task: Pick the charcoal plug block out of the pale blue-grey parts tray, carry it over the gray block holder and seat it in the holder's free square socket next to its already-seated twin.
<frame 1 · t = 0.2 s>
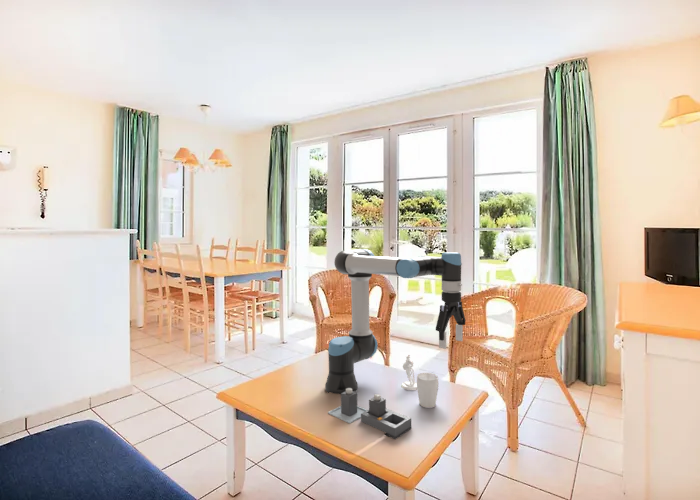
hand: (451, 344, 150), 28 cm above the table, fingers open, 13 cm apart
tray: (349, 415, 149), on the table
cup: (427, 405, 158), on the table
plug: (349, 412, 149), point 1 cm above the table, touching tray
gray block holder: (385, 426, 140), on the table
figurine: (410, 386, 177), on the table
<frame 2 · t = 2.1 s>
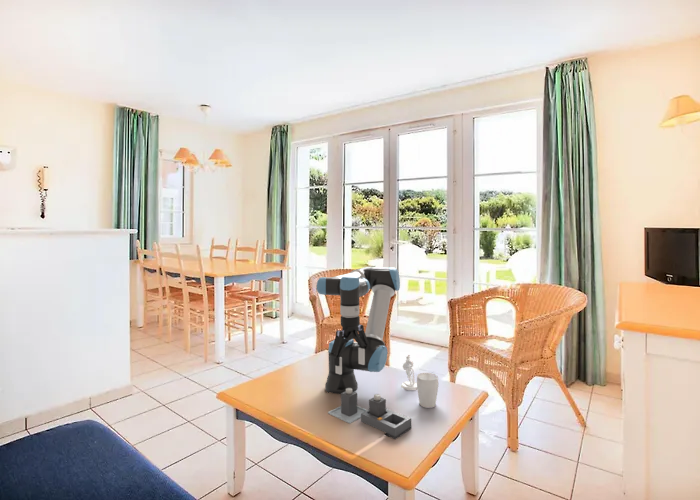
hand: (350, 368, 149), 19 cm above the table, fingers open, 13 cm apart
nothing on the table moved.
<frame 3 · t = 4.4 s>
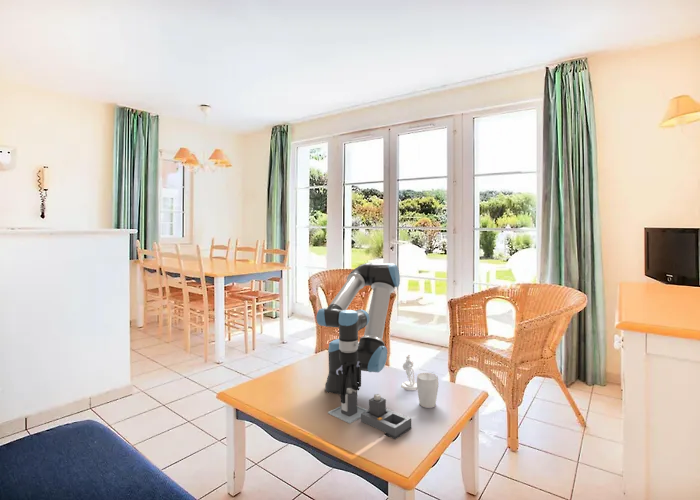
hand: (349, 407, 149), 3 cm above the table, fingers closed on plug, 4 cm apart
plug: (349, 412, 149), point 1 cm above the table, touching gripper, tray
everything else where it was.
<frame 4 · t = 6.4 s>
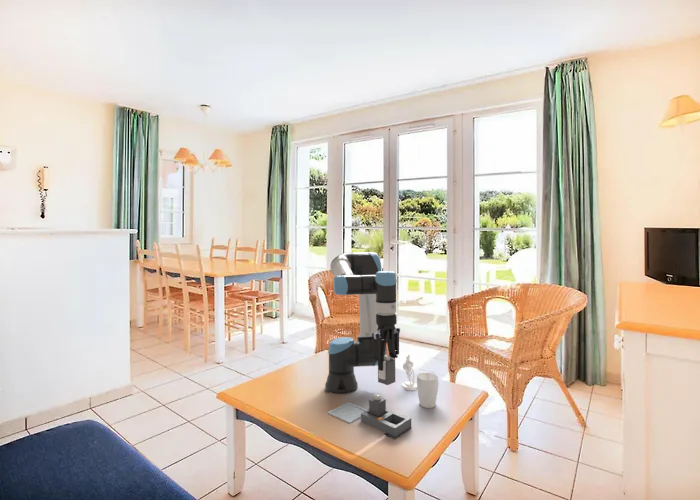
hand: (386, 376, 138), 20 cm above the table, fingers closed on plug, 4 cm apart
plug: (386, 381, 138), point 18 cm above the table, touching gripper
everything else where it was.
when the fingers open (5 cm above the table, at t = 8.5 s): plug drops 2 cm, resting on gray block holder.
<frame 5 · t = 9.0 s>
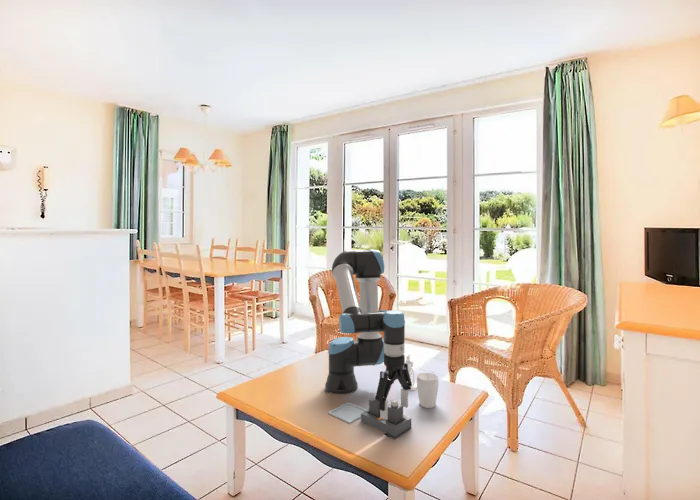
hand: (394, 412, 137), 7 cm above the table, fingers open, 12 cm apart
plug: (394, 427, 138), point 1 cm above the table, touching gray block holder
everything else where it was.
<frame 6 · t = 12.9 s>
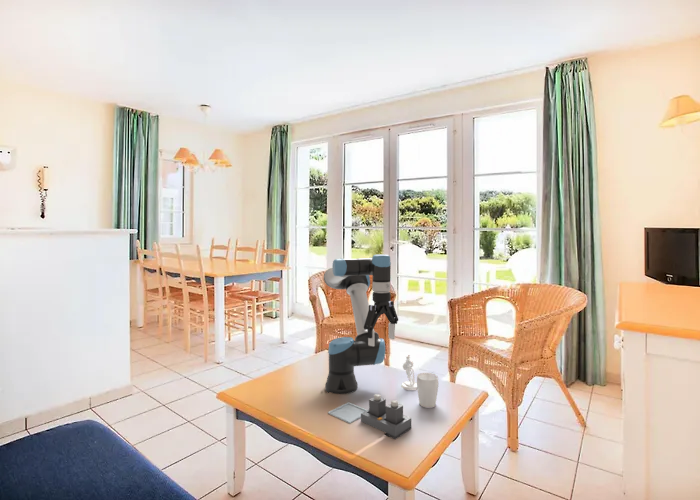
hand: (381, 342, 157), 27 cm above the table, fingers open, 13 cm apart
nothing on the table moved.
at the end: plug 0.0 cm from the target spot on the gray block holder, point 1.0 cm above the gray block holder's base; plug tilted 0°; the gripper is holding nothing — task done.
